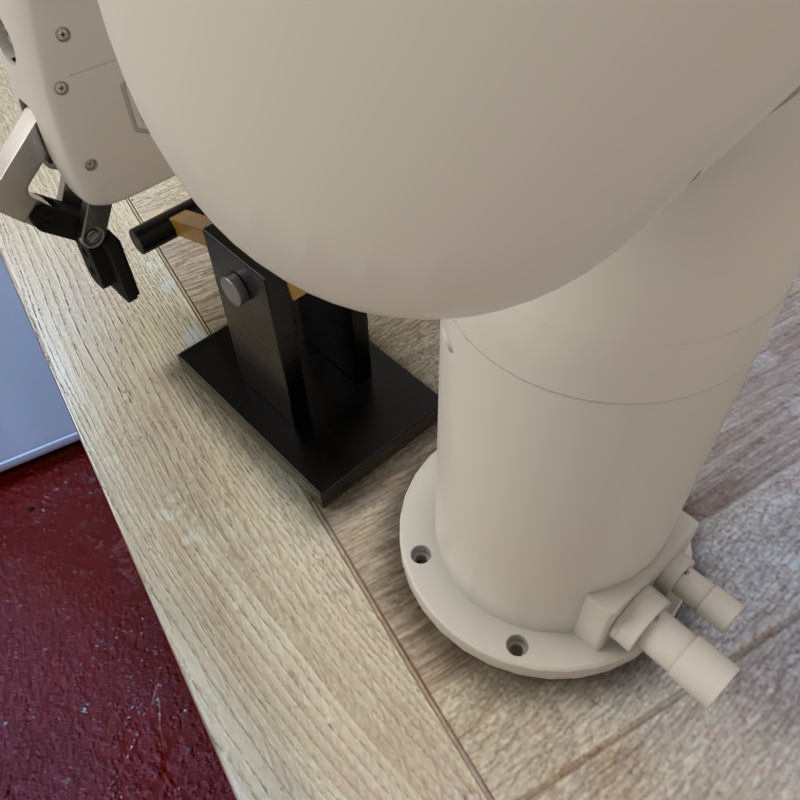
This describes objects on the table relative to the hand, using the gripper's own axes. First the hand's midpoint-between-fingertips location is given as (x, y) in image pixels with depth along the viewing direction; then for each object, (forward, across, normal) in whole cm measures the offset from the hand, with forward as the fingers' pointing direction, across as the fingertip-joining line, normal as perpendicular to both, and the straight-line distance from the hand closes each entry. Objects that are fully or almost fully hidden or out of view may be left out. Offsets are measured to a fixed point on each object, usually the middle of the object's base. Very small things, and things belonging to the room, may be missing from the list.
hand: (185, 250), depth 44 cm
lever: (-3, 0, -6) cm, 7 cm away
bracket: (+3, 0, -10) cm, 11 cm away
